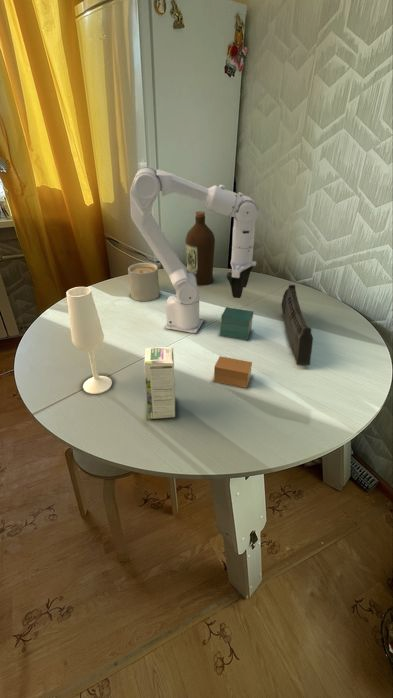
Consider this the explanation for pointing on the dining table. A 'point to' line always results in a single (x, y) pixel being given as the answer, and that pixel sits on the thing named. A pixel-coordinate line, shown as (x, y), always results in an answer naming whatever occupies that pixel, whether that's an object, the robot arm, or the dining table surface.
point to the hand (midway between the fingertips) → (239, 291)
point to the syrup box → (160, 382)
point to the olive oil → (200, 250)
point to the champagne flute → (87, 333)
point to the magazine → (296, 328)
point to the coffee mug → (144, 281)
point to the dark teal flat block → (237, 317)
